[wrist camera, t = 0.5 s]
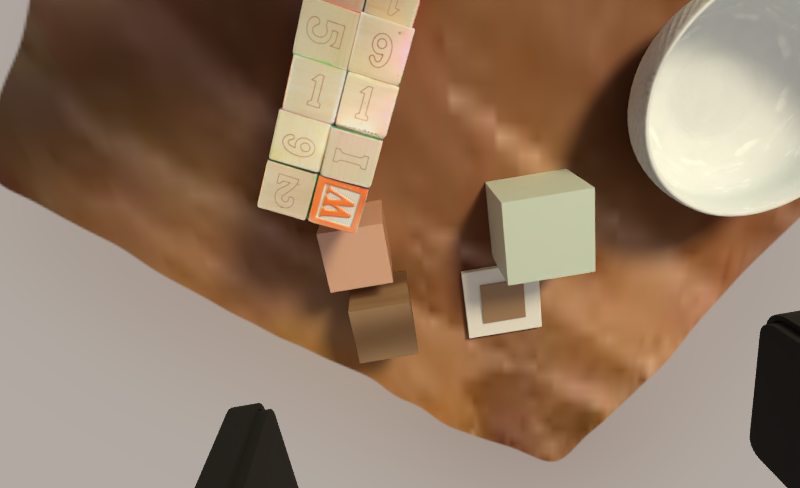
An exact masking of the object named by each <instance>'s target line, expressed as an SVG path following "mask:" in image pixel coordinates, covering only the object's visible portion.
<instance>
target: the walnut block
mask: <svg viewBox="0 0 800 488" xmlns="http://www.w3.org/2000/svg"><path fill="white" fill-rule="evenodd" d="M348 314H349V318H350V323H351V327H352V331H353V336H354V340H355V344H356V349H357V353H358V357H359V362H360V363H366V362H372V361H378V360H384V359H390V358H396V357H402V356H409V355H415V354H419V353H418V346H417V339H416V332H415V325H414V318H413V312H412V307H411V301H410V295H409V289H408V283H407V278H406V272H405V271H399V272H393V283H387V284H381V285H375V286H369V287H363V288H356V289H350V298H349V309H348Z"/></svg>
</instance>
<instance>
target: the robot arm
mask: <svg viewBox="0 0 800 488" xmlns="http://www.w3.org/2000/svg"><path fill="white" fill-rule="evenodd" d="M750 442H751V446H752V448H753V450H754V452H755V454H756V455H757V456H758V458H759V459H760V460H761V461H762V462H763V463H764V464H765V465H766V466H767V467H768V468H769V469H770V470H771V471H772V472H773V473H774V474H775V475H776V476H777V477H778V478H779V479H780V481H781V482H782V483H783V484H784V485H785V486H786V487H787V488H800V311H795V312H789V313H783V314H778V315H774V316H771V317H770V318H769V320H768V321H767V324H766V325H764V326H763V327H762V328H761V331H760V339H759V348H758V358H757V369H756V379H755V388H754V398H753V408H752V418H751V428H750ZM195 488H298V485H297V482H296V479H295V476H294V472H293V469H292V466H291V463H290V460H289V457H288V454H287V451H286V447H285V445H284V441H283V438H282V435H281V432H280V429H279V426H278V422H277V419H276V416H275V414H274V411H273V410H272V409H268V410H265V409H264V407H263V406H262V404H260V403H257V404H251V405H245V406H239V407H234V408H231V409H229V410H228V412H227V414H226V416H225V418H224V421H223V423H222V425H221V428H220V430H219V433H218V435H217V437H216V440H215V442H214V444H213V447H212V449H211V451H210V453H209V456H208V458H207V460H206V463H205V465H204V467H203V470H202V472H201V475H200V477H199V479H198V481H197V484H196V486H195Z"/></svg>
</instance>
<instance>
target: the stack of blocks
mask: <svg viewBox="0 0 800 488" xmlns="http://www.w3.org/2000/svg"><path fill="white" fill-rule="evenodd" d="M420 2H421V0H303V2H302V7H301V12H300V17H299V22H298V27H297V32H296V37H295V41H294V46H293V59H292V63H291V67H290V72H289V77H288V81H287V86H286V91H285V95H284V100H283V106H282V107H281V108H280V109H279V112H278V117H277V121H276V126H275V131H274V136H273V140H272V145H271V149H270V153H269V160H268V161H267V164H266V168H265V173H264V177H263V181H262V185H261V190H260V194H259V198H258V204H257V206H258V207H259V208H262V209H266V210H270V211H273V212H277V213H280V214H284V215H287V216H290V217H294V218H297V219H300V220H305V219H308V220H309V221H310V222H313V223H316V224H320V225H323V226H327V227H330V228H334V229H338V230H342V231H345V232H349V233H356V232H357V229H358V225H359V222H360V218H361V215H362V211H363V208H364V205H365V201H366V198H367V195H368V190H369V187H370V186H371V183H372V180H373V176H374V173H375V169H376V165H377V162H378V158H379V154H380V151H381V147H382V142H383V139H384V138H385V137H386V135H387V131H388V128H389V124H390V120H391V117H392V114H393V110H394V106H395V103H396V99H397V95H398V91H399V85H400V82H401V79H402V76H403V72H404V68H405V65H406V61H407V58H408V54H409V50H410V47H411V43H412V39H413V36H414V33H415V29H413V25H414V22H415V18H416V15H417V12H418V8H419V5H420Z"/></svg>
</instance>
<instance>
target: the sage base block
mask: <svg viewBox="0 0 800 488" xmlns="http://www.w3.org/2000/svg"><path fill="white" fill-rule="evenodd" d="M485 186H486V197H487V208H488V218H489V229H490V240H491V250H492V257H493V259H494V260H495V262H496V264H497V266H498V268H499V270H500V271H501V273H502V275H503V277H504V279H505V281H506V282H507V284H508V286H509V285H515V284H521V283H528V282H534V281H540V280H546V279H552V278H558V277H564V276H571V275H577V274H583V273H589V272H595V187H593V186H592V185H590V184H589V183H587V182H586V181H584V180H583V179H581V178H580V177H578V176H577V175H575V174H574V173H572V172H571V171H569V170H568V169H561V170H555V171H549V172H543V173H537V174H531V175H525V176H519V177H513V178H507V179H501V180H495V181H489V182H485Z"/></svg>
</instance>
